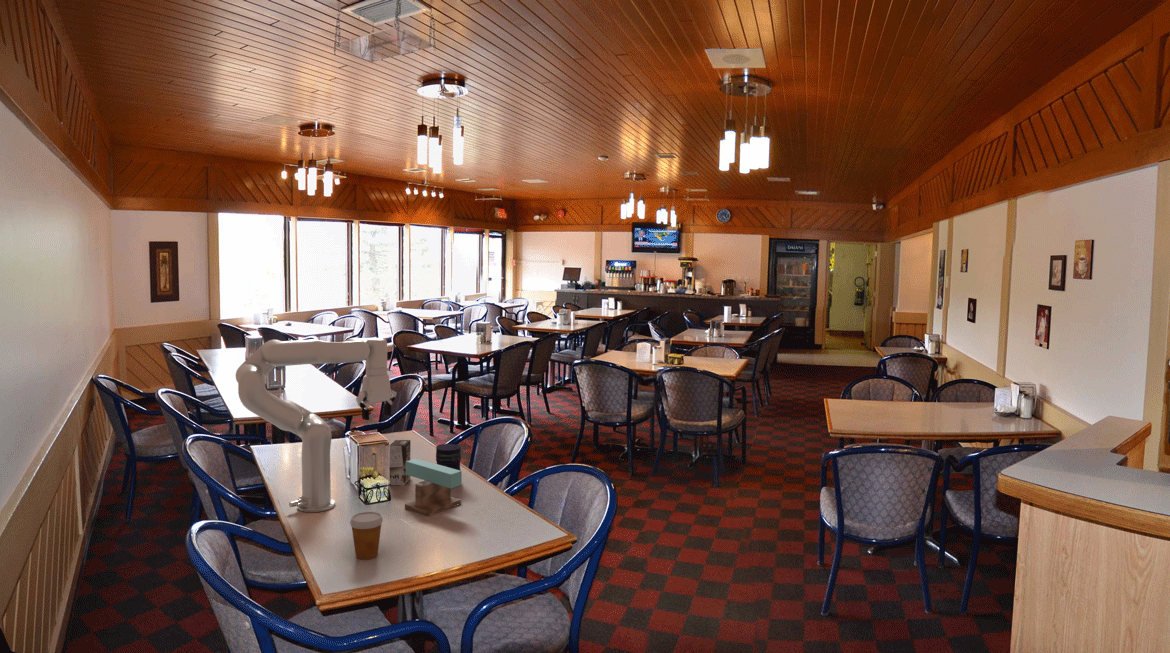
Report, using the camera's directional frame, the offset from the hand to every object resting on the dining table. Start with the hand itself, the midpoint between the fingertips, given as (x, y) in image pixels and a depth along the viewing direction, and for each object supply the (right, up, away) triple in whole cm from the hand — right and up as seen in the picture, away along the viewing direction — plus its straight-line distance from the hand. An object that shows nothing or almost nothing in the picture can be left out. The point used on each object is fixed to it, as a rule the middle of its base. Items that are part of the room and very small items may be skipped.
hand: (376, 417), depth 259 cm
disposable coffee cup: (+11, -36, -48) cm, 61 cm away
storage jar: (+22, -29, +21) cm, 42 cm away
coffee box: (+3, -29, +21) cm, 36 cm away
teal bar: (+22, -22, -6) cm, 32 cm away
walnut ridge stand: (+22, -31, -5) cm, 39 cm away
